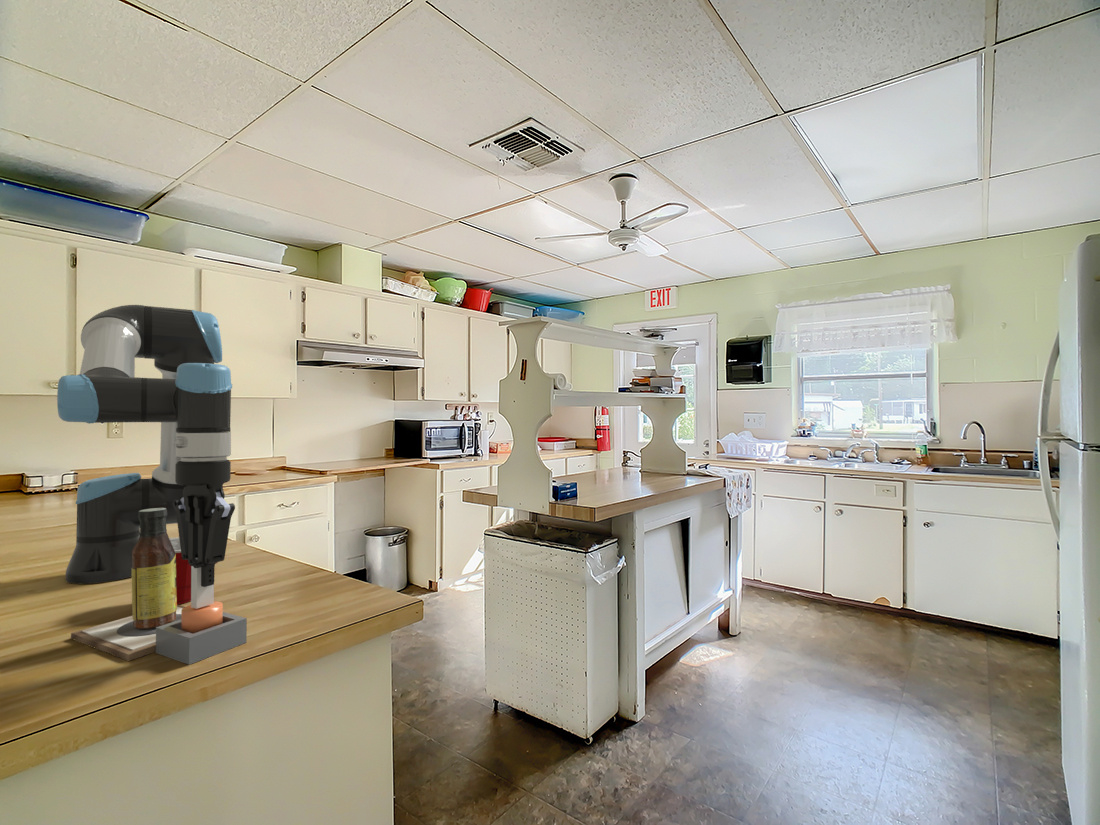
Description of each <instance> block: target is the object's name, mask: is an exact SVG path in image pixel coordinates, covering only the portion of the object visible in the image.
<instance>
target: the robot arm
mask: <svg viewBox="0 0 1100 825" xmlns="http://www.w3.org/2000/svg"><path fill="white" fill-rule="evenodd" d="M80 343H81V346H82V348H83V349H84V350H83V356H82V357H83V358H82V361H81V365H80V371H79V374H71V375H70V374H69V375H68V374H66V375H62V376H61V377H60V378H59V379H58V382H57V393H56V395H57V396H56V397H57V398H56V400H57V413H58V414H57V415H58V417H59V419H61V420H62V421H64V422H67V423H86V424H94V423H95V424H97V423H105V424H106V423H109V424H111V423H113V424H114V423H160V450H159V451H160V454H159V465H158V466H157V467H155V468H154V469H153V471H152V472H151V477H150V478H142V475H141V474H140V473H139V472H131V473H121V474H114V475H108V476H101V477H96V478H92V479H88V480H85V481H83V482H81V483H80V484H79V486H78V487H77V491H76V501H75V505H76V530H75V531H76V533H75V534H76V536H75V537H76V540H75V541H76V542H75V548H74V550H73V552H72V555H71V558H70V559H69V562H68V565H67V567H66V570H65V582H67V583H70V584H82V585H83V584H96V583H97V584H98V583H107V582H112V581H119V580H123V579H124V580H125V579H128V578H132V570H131V568H132V550H133V548H134V546H135V545H136V543H137V542H138V540H139V537H140V534H139V533H140V520H139V518H138V511H140V510H144V509H151V508H166V509H167V517H166V525H173V524H177V532H178V537H179V539H180V547H181V555H182V559H183V560H186V559H187V560H188V563H189V565H191V601H190V605H191V607H192V608H196V609H197V608H201V607H204V606H207V605H210V604H214V601H215V565H216V564H218V563H219V562H223V561H224V560H225V559H226V558H225V556H226V553H227V552H226V551H227V544H228V538H229V532H230V525H231V519H232V517H233V514H234V512H235V510H236V505H235V504H234V502H233V503H228V502H227V501H226V500H225V492H224V487H223V485H224V484H225V483H228V482H230V480H231V475H232V474H231V471H232V470H231V467H232V464H231V461H230V460H229V459H228V457H230V456H231V455H232V432H231V412H232V411H231V410H232V409H231V408H232V404H231V403H232V402H231V401H232V389H233V384H232V376H231V375H232V373H231V369H230V368H229V367H228V366H227V365H225V364H219V363H221V362H222V361H223V346H222V338H221V332H220V325H219V321H218V319H217V317H216V315H214V314H212V313H211V312H205V311H198V310H194V309H187V308H186V309H183V308H176V307H175V308H174V307H161V306H150V305H144V304H127V305H126V304H124V305H120V306H116V307H115V306H114V307H112V308H108V309H105V310H103V311H101V312H99V313H97V314H95V315H93V316H92V317H91V318H90V319H88V321H86V322H85V324H84V325H83V327H82V330H81V333H80ZM137 358H138V359H152V360H153V361H154V363H153V364H154V365H153V366H154V368H155V369H157V371H158V372H160V373H161V376H162V377H160V378H154V377H152V378H151V377H136V376H135V374H136V372H135V368H136V364H135V363H136V362H135V361H136V360H135V359H137Z"/></svg>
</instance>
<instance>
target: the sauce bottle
mask: <svg viewBox="0 0 1100 825" xmlns="http://www.w3.org/2000/svg"><path fill="white" fill-rule="evenodd" d="M166 517H167V509H166V508H151V509H144V510H140V511H138V518H139V520H140V533H139V534H140V537H139V540H138V542H137V543H136V545H135V546H134V548H133V550H132V568H131V570H132V577H131V603H132V605H131V606H132V615H133V620H134V622H133V625H134V627H136V628H137V629H152V628H156V627H159V626H162V625H165V624H168V623H172V622H173V621H174V620H175V619H176V610H177V592H176V553H175V550H174V548H173V546H172V544H171V541H170V539H169V538H170V536H169V535H168V532H167V531H168V530H167V524H166ZM132 615H131V616H132Z"/></svg>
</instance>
